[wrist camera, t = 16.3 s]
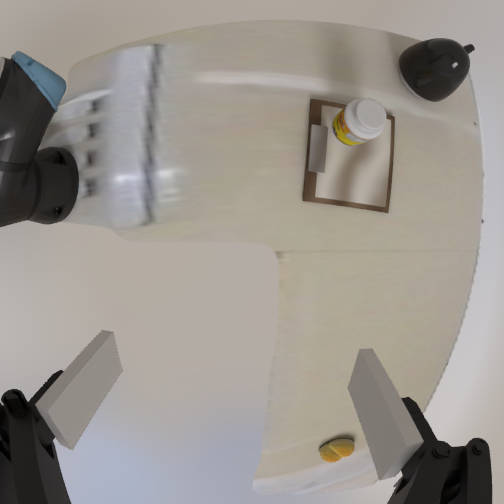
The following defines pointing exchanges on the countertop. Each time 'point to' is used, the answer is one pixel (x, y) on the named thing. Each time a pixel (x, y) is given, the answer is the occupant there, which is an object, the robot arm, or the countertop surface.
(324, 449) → the bread roll
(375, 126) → the supplement bottle
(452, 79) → the pump dispenser
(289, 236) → the countertop surface
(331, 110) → the clipboard
